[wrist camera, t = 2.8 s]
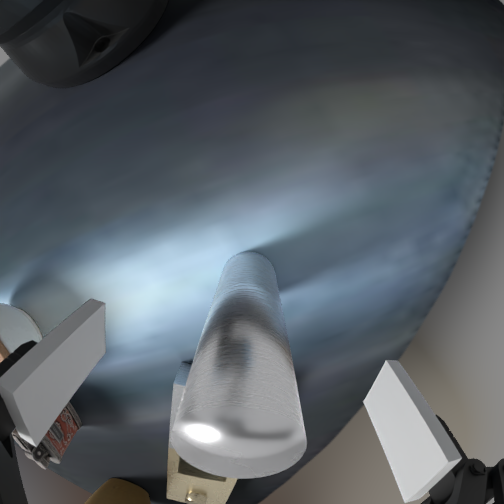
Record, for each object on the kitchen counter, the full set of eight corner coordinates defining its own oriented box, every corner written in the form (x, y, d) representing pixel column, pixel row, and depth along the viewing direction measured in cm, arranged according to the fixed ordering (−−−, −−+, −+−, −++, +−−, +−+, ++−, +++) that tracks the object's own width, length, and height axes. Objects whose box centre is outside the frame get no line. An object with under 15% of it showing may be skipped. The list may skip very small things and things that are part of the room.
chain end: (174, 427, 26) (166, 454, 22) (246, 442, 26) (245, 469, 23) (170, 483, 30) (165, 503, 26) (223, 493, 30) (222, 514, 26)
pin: (227, 246, 21) (174, 391, 6) (281, 258, 21) (327, 415, 6) (217, 295, 22) (168, 465, 7) (268, 306, 22) (283, 482, 7)
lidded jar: (14, 270, 22) (-48, 304, 13) (75, 351, 24) (27, 407, 15) (-11, 315, 23) (-56, 348, 14) (40, 381, 26) (3, 426, 16)
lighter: (87, 427, 27) (58, 480, 18) (69, 424, 27) (40, 473, 18) (57, 381, 25) (16, 434, 16) (40, 379, 25) (0, 427, 16)
